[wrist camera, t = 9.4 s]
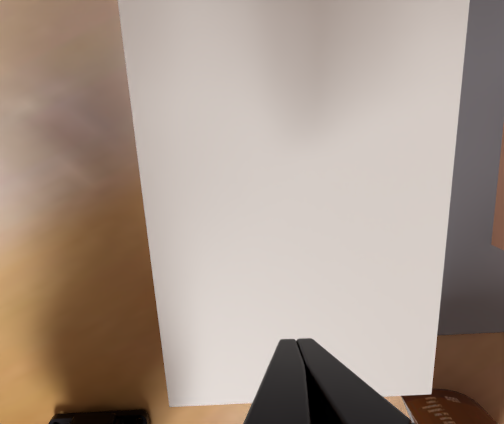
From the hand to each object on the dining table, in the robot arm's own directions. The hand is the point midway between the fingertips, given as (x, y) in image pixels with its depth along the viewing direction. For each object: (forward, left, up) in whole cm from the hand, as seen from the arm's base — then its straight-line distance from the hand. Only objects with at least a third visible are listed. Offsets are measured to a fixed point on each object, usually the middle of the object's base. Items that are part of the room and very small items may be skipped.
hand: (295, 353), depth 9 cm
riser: (+3, -1, -11) cm, 12 cm away
